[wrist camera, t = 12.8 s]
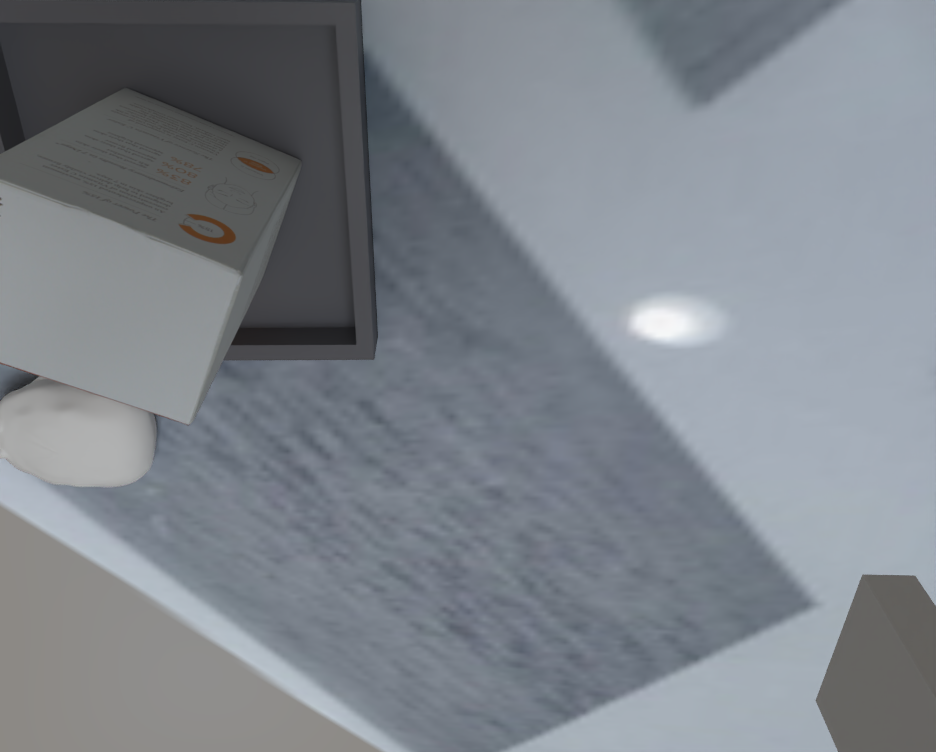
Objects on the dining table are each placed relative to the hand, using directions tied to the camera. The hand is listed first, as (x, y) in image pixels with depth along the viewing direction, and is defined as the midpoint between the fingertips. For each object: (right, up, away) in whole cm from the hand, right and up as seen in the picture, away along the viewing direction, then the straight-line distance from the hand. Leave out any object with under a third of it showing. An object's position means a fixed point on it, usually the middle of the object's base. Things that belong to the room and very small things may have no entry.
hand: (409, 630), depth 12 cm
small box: (-11, +12, +24) cm, 29 cm away
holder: (-11, +13, +25) cm, 30 cm away
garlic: (-19, +2, +31) cm, 37 cm away
